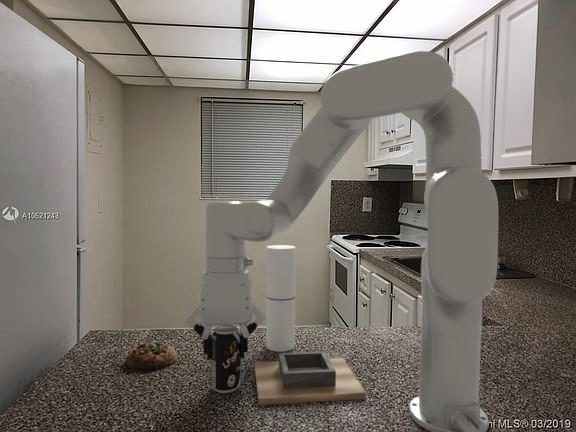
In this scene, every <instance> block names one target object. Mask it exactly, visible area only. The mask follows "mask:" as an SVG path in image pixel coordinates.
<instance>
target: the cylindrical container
mask: <svg viewBox="0 0 576 432" xmlns="http://www.w3.org/2000/svg"><path fill="white" fill-rule="evenodd" d="M265 284H266V286H265V287H266V289H265V290H266V292H265V293H266V298H265V299H266V305H265V307H266V312H265V313H266V315H265V316H266V317H265V321H266V322H265V324H266V330H265V331H266V333H265V341H266V342H265V344H266V345H265V346H266V349H268V350H270V351H272V352H273V351H274V352H280V353H283V352H288V351H292V350H293V349H294V348H295V347H296V345H295V343H296V341H295V340H296V334H295V333H296V246H294V245H289V244H288V245H286V244H278V245H277V244H276V245H267V246H266V283H265Z"/></svg>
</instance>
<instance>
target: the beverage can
mask: <svg viewBox="0 0 576 432" xmlns="http://www.w3.org/2000/svg"><path fill="white" fill-rule="evenodd" d="M240 335H241V333H240V332H239V331H238V327H237V326H236V325H234V324H232V325H217V326H216V327H214V329H213V333H212V334H211V359H210V380H211V381H210V386H211V388H212V389H213V390H214V391H216V392H218V393H219V394H229V393H233V392H235V391H237V389H239V387H241V383H242V382H241V381H242V378H241V376H242V375H241V374H242V373H241V371H242V370H241V369H242V366H241V363H242V362H241V361H242V358H241V357H240V337H241V336H240Z"/></svg>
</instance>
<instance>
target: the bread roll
mask: <svg viewBox="0 0 576 432" xmlns="http://www.w3.org/2000/svg"><path fill="white" fill-rule="evenodd" d="M177 358H178V353H177V352H176V350H175V349H174V348H173V347H172V346H170V345H168V344H165V343H163V344H162V343H160V342H155V343H150V342H148V343H142V344H139V345H138V346H137V347H136V348H134V349H132V350H131V351H130V352H129V353H127V355H126V358H125V365H126V366H128V368H130V369H131V370H134V371H138V372H151V371H155V370H159V369H164V368H165V367H168V366H169V364H174V363H175V362H176V360H177Z"/></svg>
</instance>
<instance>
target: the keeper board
mask: <svg viewBox="0 0 576 432" xmlns="http://www.w3.org/2000/svg"><path fill="white" fill-rule="evenodd" d="M254 372H255V373H254V375H255V383H256V384H255V385H256V393H257V402H258V406H265V405H280V404H282V405H283V404H299V403H316V402H317V403H318V402H330V401H331V402H332V401H335V402H336V401H349V400H351V401H352V400H365V399H366V391H365V389H364V388H363V386H362V385H361V384H360V382H359V380H358V378H357V377H356V376H355V374H354V372H353V371H352V369H351V368H350V366H349V365H348V363H347V361H346V360H345V358H343V357H342V358H341V357H340V358H339V357H338V358H329V356H328V354H327V353H326V351H324V350H323V351H322V350H321V351H302V352H300V351H299V352H280V353H278V361H277V360H274V361H254Z"/></svg>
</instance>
